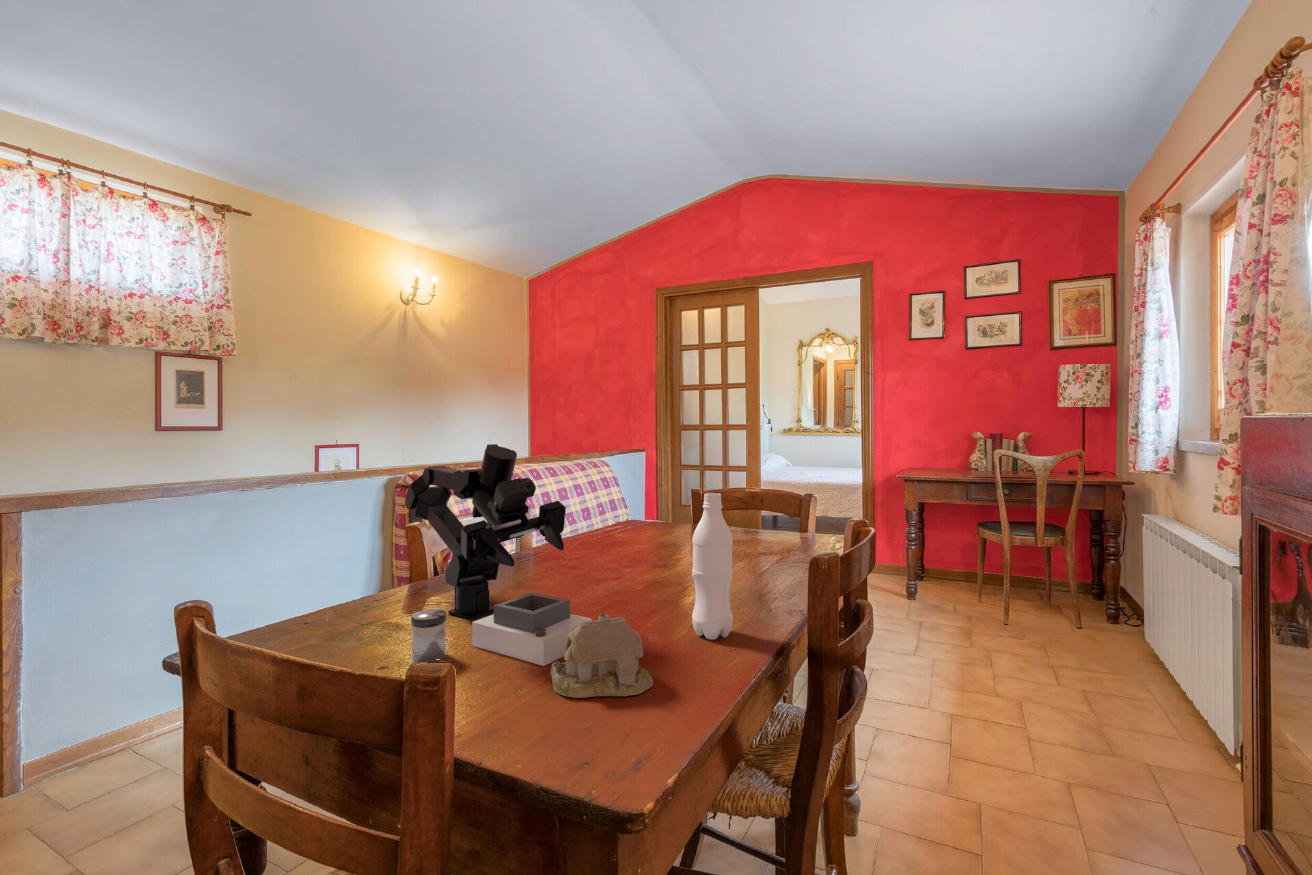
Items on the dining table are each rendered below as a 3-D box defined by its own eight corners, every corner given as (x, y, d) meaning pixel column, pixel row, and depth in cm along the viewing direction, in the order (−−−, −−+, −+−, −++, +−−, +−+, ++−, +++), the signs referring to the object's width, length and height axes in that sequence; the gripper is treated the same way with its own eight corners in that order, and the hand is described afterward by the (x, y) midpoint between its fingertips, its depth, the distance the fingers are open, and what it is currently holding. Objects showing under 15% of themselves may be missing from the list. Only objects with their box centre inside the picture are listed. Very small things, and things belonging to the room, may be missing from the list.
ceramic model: (637, 662, 92) (637, 599, 92) (661, 693, 82) (661, 621, 81) (546, 675, 87) (546, 608, 87) (560, 709, 77) (560, 633, 77)
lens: (404, 659, 93) (404, 615, 93) (432, 648, 98) (431, 606, 97) (425, 666, 90) (425, 621, 90) (453, 655, 95) (452, 612, 95)
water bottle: (706, 644, 99) (706, 497, 99) (684, 631, 106) (684, 492, 105) (740, 637, 103) (741, 494, 102) (718, 625, 109) (718, 490, 109)
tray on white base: (472, 645, 99) (472, 604, 99) (523, 625, 109) (523, 587, 109) (543, 666, 90) (543, 620, 90) (591, 641, 101) (591, 601, 101)
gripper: (447, 481, 99) (486, 530, 88) (545, 460, 110) (591, 501, 100) (447, 535, 104) (484, 588, 93) (541, 510, 115) (584, 554, 105)
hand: (538, 555), depth 98 cm, fingers open, 9 cm apart
